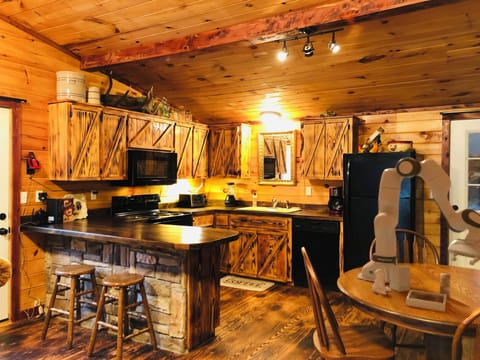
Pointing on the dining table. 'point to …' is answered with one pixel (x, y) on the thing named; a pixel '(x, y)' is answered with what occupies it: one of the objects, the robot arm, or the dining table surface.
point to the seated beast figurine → (379, 283)
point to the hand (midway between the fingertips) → (461, 262)
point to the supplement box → (400, 278)
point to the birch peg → (445, 284)
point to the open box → (426, 303)
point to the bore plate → (427, 297)
